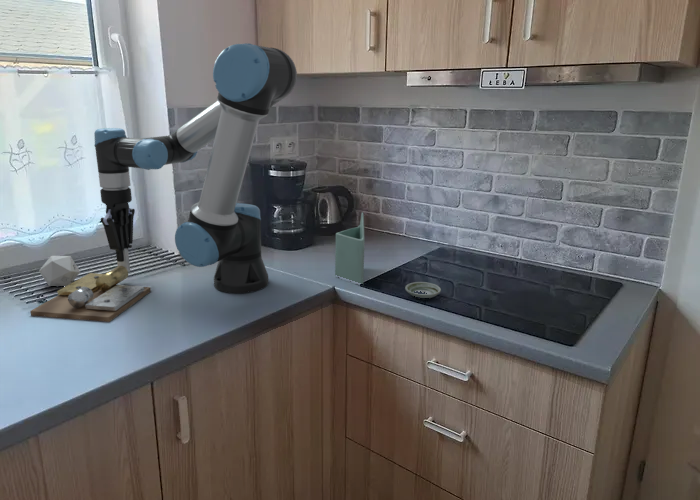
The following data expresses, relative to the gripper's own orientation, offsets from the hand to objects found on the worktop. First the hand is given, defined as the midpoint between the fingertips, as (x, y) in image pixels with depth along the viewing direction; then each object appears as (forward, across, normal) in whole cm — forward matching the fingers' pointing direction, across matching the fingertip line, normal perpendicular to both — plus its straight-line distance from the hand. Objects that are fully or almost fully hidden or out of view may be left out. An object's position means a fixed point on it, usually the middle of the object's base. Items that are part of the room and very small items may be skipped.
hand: (124, 271), depth 148 cm
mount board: (+3, +15, 0) cm, 15 cm away
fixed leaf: (+2, +15, +4) cm, 16 cm away
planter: (+4, -18, +61) cm, 63 cm away
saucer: (+4, -7, +83) cm, 83 cm away
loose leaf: (+2, +8, -4) cm, 9 cm away
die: (+4, +5, -16) cm, 17 cm away
